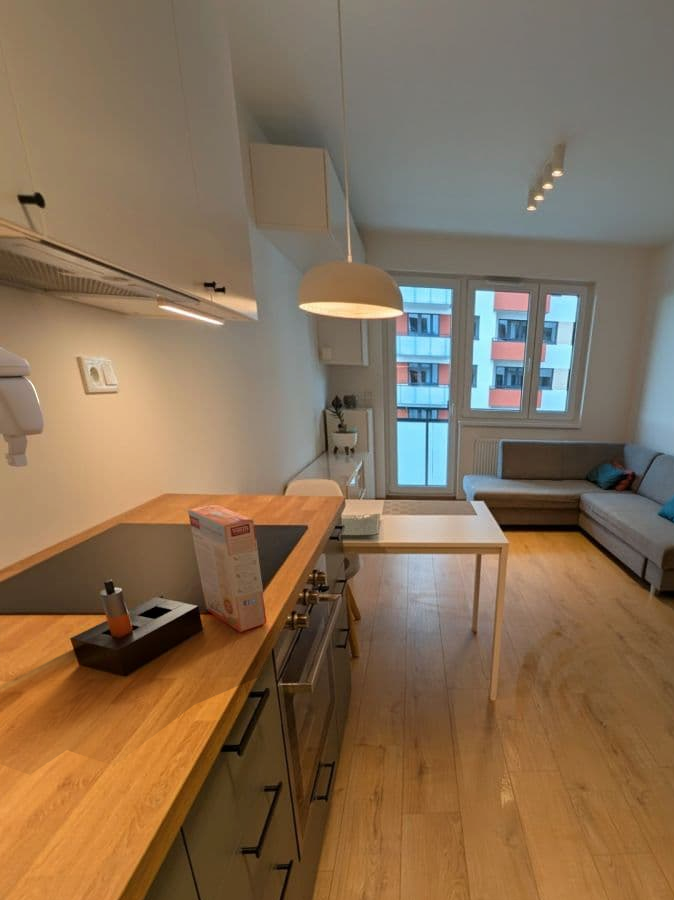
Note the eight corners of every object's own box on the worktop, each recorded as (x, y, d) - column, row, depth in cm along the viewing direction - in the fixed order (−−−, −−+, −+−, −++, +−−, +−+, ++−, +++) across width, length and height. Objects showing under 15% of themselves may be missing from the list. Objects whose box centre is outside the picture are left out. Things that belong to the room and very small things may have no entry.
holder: (78, 664, 83) (69, 638, 81) (161, 620, 97) (155, 596, 95) (125, 677, 80) (117, 650, 78) (203, 629, 95) (198, 605, 93)
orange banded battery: (113, 658, 85) (91, 582, 79) (129, 649, 88) (109, 575, 82) (127, 661, 84) (106, 586, 78) (143, 652, 87) (124, 578, 81)
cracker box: (269, 623, 98) (255, 518, 89) (239, 634, 94) (221, 525, 85) (233, 601, 106) (217, 502, 97) (205, 610, 102) (185, 508, 93)
